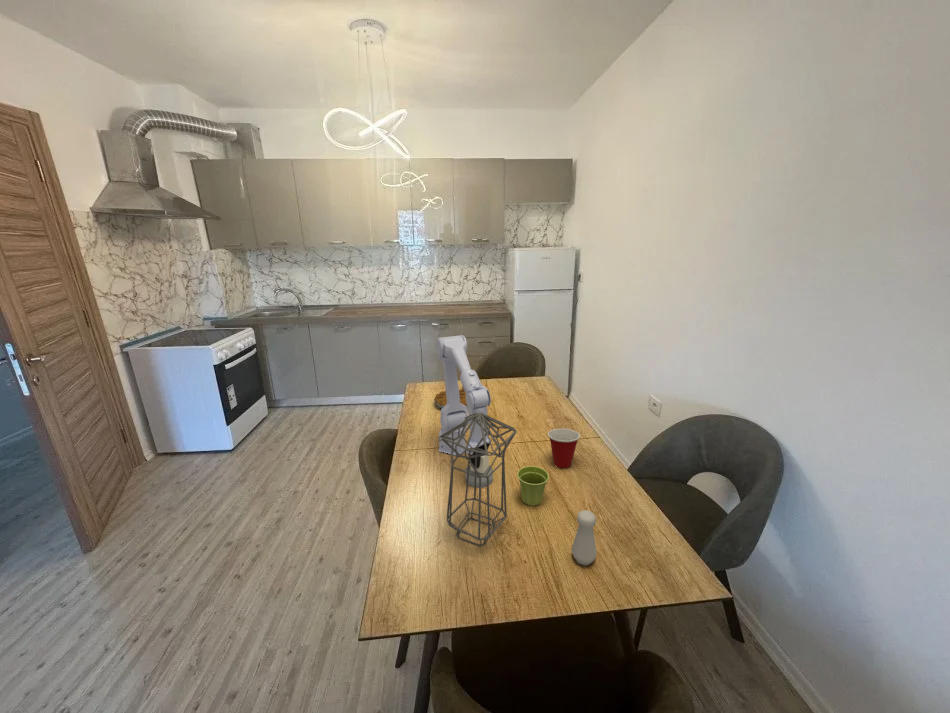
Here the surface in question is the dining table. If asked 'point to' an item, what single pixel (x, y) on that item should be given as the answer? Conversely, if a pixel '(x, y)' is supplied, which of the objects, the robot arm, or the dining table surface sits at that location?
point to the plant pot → (532, 484)
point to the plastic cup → (563, 446)
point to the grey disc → (483, 480)
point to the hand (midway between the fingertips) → (479, 463)
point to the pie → (442, 399)
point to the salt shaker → (585, 538)
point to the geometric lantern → (485, 420)
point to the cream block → (483, 464)
